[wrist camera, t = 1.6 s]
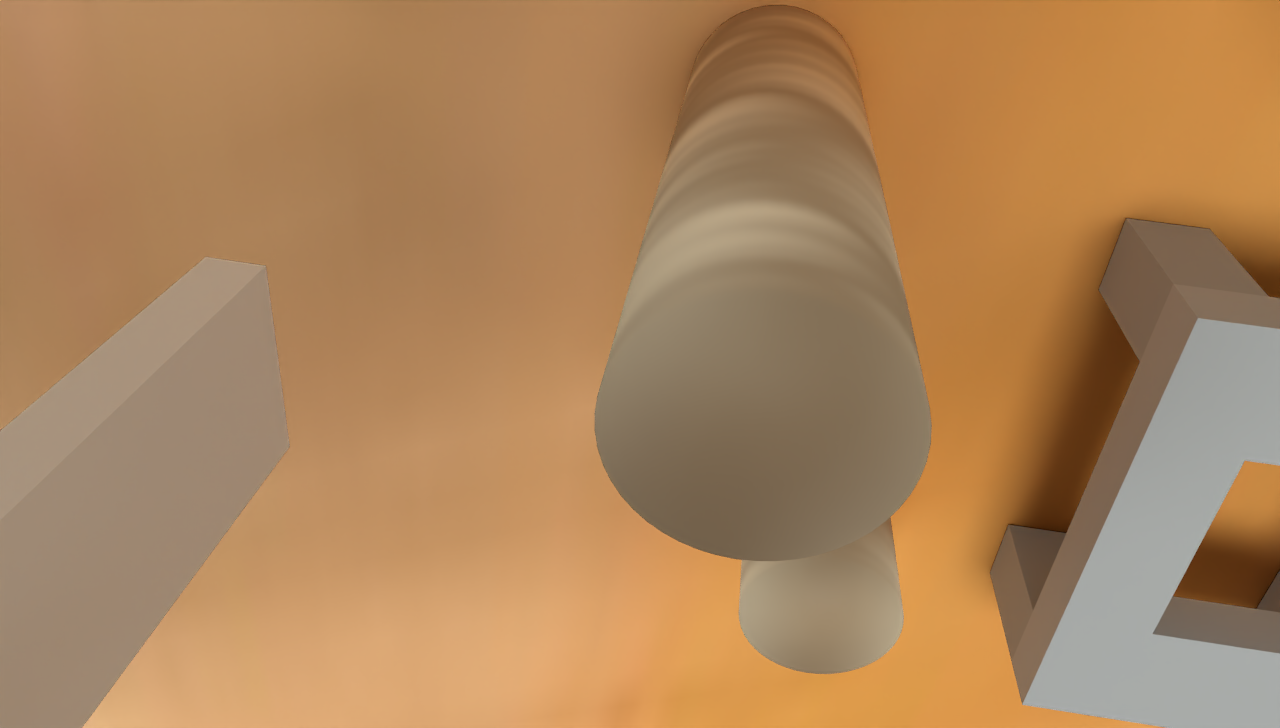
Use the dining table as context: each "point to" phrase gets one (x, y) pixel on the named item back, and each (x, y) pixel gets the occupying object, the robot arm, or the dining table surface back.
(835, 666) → the short dowel
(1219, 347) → the square frame with posts
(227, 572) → the dining table surface
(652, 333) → the long dowel
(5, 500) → the robot arm
